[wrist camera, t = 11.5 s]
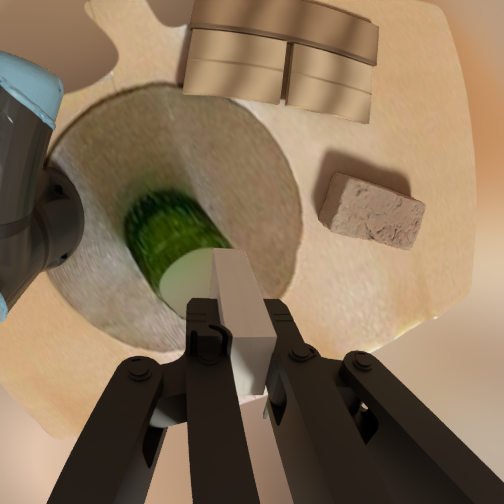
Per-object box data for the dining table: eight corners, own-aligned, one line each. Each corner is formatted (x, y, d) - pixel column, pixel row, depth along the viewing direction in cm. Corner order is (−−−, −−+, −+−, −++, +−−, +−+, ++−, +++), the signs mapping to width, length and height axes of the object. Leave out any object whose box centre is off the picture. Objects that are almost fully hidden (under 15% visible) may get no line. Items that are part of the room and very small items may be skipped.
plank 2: (284, 106, 35) (287, 104, 34) (291, 46, 32) (294, 43, 31) (364, 124, 38) (369, 123, 36) (368, 68, 35) (373, 66, 34)
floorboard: (189, 29, 30) (189, 26, 28) (198, -12, 27) (198, -17, 26) (371, 67, 35) (376, 65, 34) (374, 28, 32) (379, 26, 31)
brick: (315, 223, 44) (328, 234, 40) (332, 169, 41) (346, 175, 37) (396, 241, 48) (412, 252, 44) (412, 197, 45) (429, 204, 41)
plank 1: (182, 94, 33) (182, 92, 31) (193, 32, 30) (193, 28, 29) (277, 104, 35) (279, 103, 34) (284, 44, 32) (287, 41, 31)
